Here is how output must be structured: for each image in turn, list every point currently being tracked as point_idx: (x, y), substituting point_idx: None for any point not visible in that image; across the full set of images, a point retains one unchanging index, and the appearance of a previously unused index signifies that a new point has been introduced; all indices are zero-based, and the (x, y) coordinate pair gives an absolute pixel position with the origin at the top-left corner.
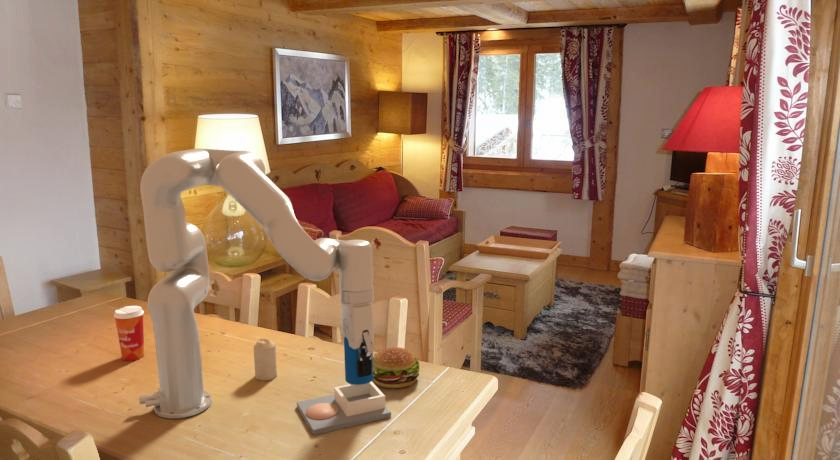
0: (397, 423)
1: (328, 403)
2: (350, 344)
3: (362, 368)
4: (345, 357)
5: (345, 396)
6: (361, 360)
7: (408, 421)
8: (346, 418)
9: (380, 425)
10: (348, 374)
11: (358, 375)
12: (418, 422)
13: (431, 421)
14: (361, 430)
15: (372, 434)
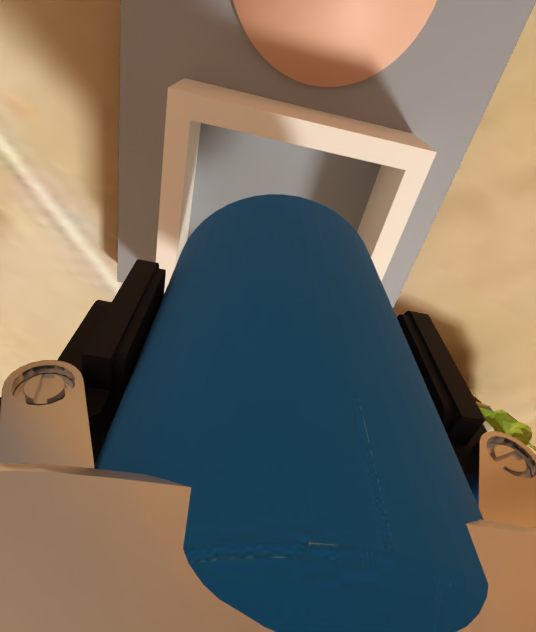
0: (61, 260)
1: (387, 63)
2: (53, 532)
3: (79, 326)
4: (307, 307)
5: (374, 192)
6: (22, 380)
7: (59, 300)
8: (165, 60)
9: (74, 194)
10: (256, 224)
11: (136, 264)
12: (37, 322)
13: (26, 356)
14: (65, 87)
15: (4, 113)
